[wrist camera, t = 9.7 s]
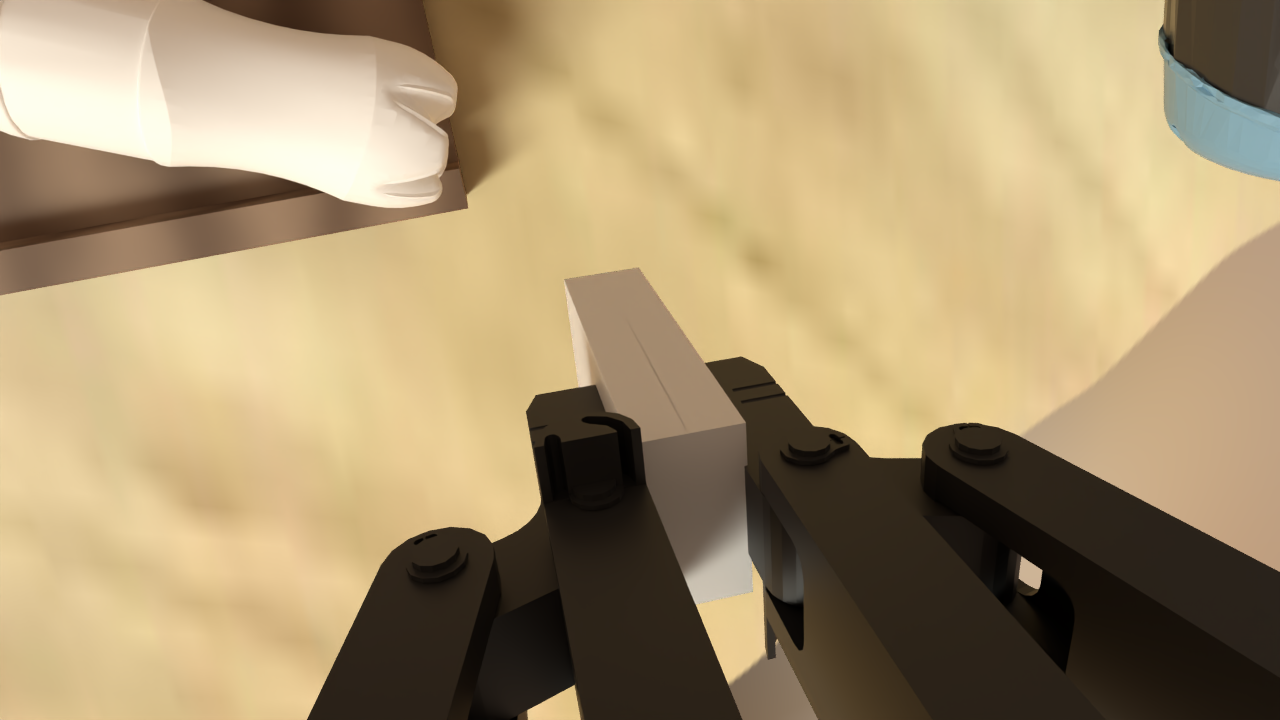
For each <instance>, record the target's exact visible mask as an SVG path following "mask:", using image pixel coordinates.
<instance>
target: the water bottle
mask: <svg viewBox="0 0 1280 720" xmlns="http://www.w3.org/2000/svg"><path fill="white" fill-rule="evenodd" d="M457 91H458V87H457V83H456V81H455V79H454V77H453V76H452V75H451V74H450V73H449V72H448V71H446V70H445V69H444V68H443V67H442V66H441V65H440V64H438V63H437V62H436V61H435V60H433V59H432V58H430V57H428V56H427V55H425V54H424V53H422V52H420V51H418V50H416V49H413V48H411V47H409V46H406V45H403V44H400V43H396V42H392V41H388V40H384V39H380V38H376V37H372V36H358V35H337V34H324V33H316V32H309V31H302V30H296V29H291V28H287V27H282V26H277V25H273V24H269V23H265V22H262V21H258V20H254V19H251V18H247V17H244V16H241V15H239V14H236V13H233V12H230V11H227V10H224V9H222V8H219V7H217V6H214V5H212V4H210V3H208V2H206V1H203V0H0V131H2V132H5V133H7V134H10V135H13V136H17V137H21V138H25V139H29V140H40V139H44V140H49V141H54V142H59V143H64V144H70V145H75V146H80V147H85V148H90V149H95V150H101V151H106V152H111V153H116V154H121V155H126V156H132V157H137V158H142V159H147V160H152V161H155V162H156V163H157V164H159V165H162V166H167V167H184V166H196V167H219V168H230V169H239V170H245V171H251V172H258V173H263V174H267V175H271V176H276V177H280V178H284V179H287V180H291V181H294V182H297V183H301V184H304V185H307V186H309V187H312V188H315V189H317V190H320V191H323V192H325V193H328V194H330V195H332V196H334V197H337V198H339V199H341V200H344V201H349V202H354V203H359V204H365V205H370V206H377V207H384V208H405V207H414V206H420V205H424V204H428V203H432V202H434V201H436V200H437V199H438V198H439V197H440V195H441V193H442V183H441V181H440V179H439V177H440V176H441V175H442V174H443V172H444V170H445V168H446V165H447V159H448V147H449V139H448V135H447V133H446V132H445V131H443V130H442V129H441V128H439V127H438V126H437V125H436V124H437V123H439V122H440V121H442V120H444V119H446V118H448V117H450V116H451V115H452V114H453V113H454V111H455V108H456V101H457Z"/></svg>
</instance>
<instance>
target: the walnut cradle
mask: <svg viewBox="0 0 1280 720" xmlns="http://www.w3.org/2000/svg"><path fill="white" fill-rule="evenodd" d="M203 1H206V2H208V3H210V4H212V5H214V6H217V7H219V8H222V9H224V10H227V11H230V12H233V13H236V14H239V15H241V16H244V17H247V18H251V19H254V20H258V21H262V22H265V23H269V24H273V25H277V26H282V27H287V28H291V29H296V30H302V31H309V32H316V33H324V34H337V35H358V36H372V37H376V38H380V39H384V40H388V41H392V42H396V43H400V44H403V45H406V46H409V47H411V48H413V49H416V50H418V51H420V52H422V53H424V54H425V55H427V56H428V57H430V58H432V59H433V60H435V61H436V59H435V55H434V51H433V46H432V42H431V38H430V33H429V29H428V24H427V20H426V16H425V11H424V7H423V2H422V0H203ZM436 125H437V126H438V127H439V128H441V129H442V130H443V131H445V132H446V133H447V135H448V139H449V147H448V159H447V165H446V168H445V170H444V172H443V174H442V175H441V176H440V177H439V179H440V181H441V183H442V193H441V195H440V197H439V198H438V199H437V200H436V201H434V202H432V203H428V204H424V205H420V206H414V207H405V208H384V207H377V206H370V205H365V204H359V203H354V202H349V201H344V200H341V199H339V198H337V197H334V196H332V195H330V194H328V193H325V192H323V191H320V190H317V189H315V188H312V187H309V186H307V185H304V184H301V183H297V182H294V181H291V180H287V179H284V178H280V177H276V176H271V175H267V174H263V173H258V172H251V171H245V170H239V169H230V168H219V167H196V166H184V167H167V166H162V165H159V164H157V163H156V162H155V161H152V160H147V159H142V158H137V157H132V156H126V155H121V154H116V153H111V152H106V151H101V150H95V149H90V148H85V147H80V146H75V145H70V144H64V143H59V142H54V141H49V140H44V139H40V140H29V139H25V138H21V137H17V136H13V135H10V134H7V133H5V132H2V131H0V295H4V294H10V293H15V292H20V291H26V290H31V289H36V288H42V287H47V286H53V285H58V284H63V283H69V282H74V281H79V280H85V279H90V278H96V277H101V276H106V275H112V274H117V273H122V272H128V271H133V270H139V269H144V268H149V267H155V266H160V265H165V264H171V263H176V262H182V261H187V260H192V259H198V258H203V257H209V256H214V255H219V254H225V253H230V252H235V251H241V250H246V249H252V248H257V247H262V246H268V245H273V244H278V243H284V242H289V241H295V240H300V239H305V238H311V237H316V236H321V235H327V234H332V233H338V232H343V231H348V230H354V229H359V228H364V227H370V226H375V225H381V224H386V223H391V222H397V221H402V220H408V219H413V218H418V217H424V216H429V215H434V214H440V213H445V212H451V211H456V210H461V209H467V208H468V203H467V195H466V191H465V186H464V182H463V178H462V173H461V169H460V164H459V160H458V156H457V151H456V147H455V143H454V138H453V134H452V129H451V125H450V121H449V117H448V118H446V119H444V120H442V121H440V122H439V123H437V124H436Z"/></svg>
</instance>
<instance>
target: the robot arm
mask: <svg viewBox="0 0 1280 720" xmlns="http://www.w3.org/2000/svg"><path fill="white" fill-rule="evenodd" d="M1158 45H1159V49H1160V53H1161V55H1162V57H1163V59H1164V112H1165V116H1166V120H1167V122H1168V124H1169V127H1170V129H1171V130H1172V131H1173V132H1174V133H1175V134H1176V136H1177V137H1178V138H1180V139H1181V140H1182V141H1183V142H1184V143H1185V145H1186V146H1187V147H1188V148H1189V149H1190V150H1192V151H1193V152H1195V153H1196V154H1198V155H1200V156H1201V157H1203V158H1205V159H1207V160H1209V161H1212V162H1214V163H1216V164H1218V165H1221V166H1224V167H1226V168H1229V169H1232V170H1235V171H1238V172H1242V173H1245V174H1249V175H1253V176H1257V177H1261V178H1266V179H1271V180H1276V181H1280V0H1165V8H1164V23H1163V25H1162V27H1161V28H1160V30H1159V36H1158ZM564 284H565V291H566V298H567V306H568V313H569V320H570V327H571V335H572V342H573V349H574V356H575V364H576V371H577V378H578V385H579V388H573V389H568V390H562V391H556V392H551V393H545V394H539V395H536V396H535V398H534V399H533V401H532V403H531V404H530V406H529V408H528V409H527V411H526V414H527V420H528V426H529V432H530V438H531V443H532V449H533V455H534V461H535V467H536V473H537V478H538V484H539V490H540V496H541V505H540V507H539V509H538V511H537V513H536V515H535V516H534V517H533V518H532V519H531V520H530V522H529V523H527V524H526V525H525V526H523V527H522V528H521V529H519V530H518V531H516V532H514V533H513V534H511V535H509V536H507V537H505V538H503V539H500V540H498V541H496V542H493V543H491V542H490V540H489V539H488V538H487V537H486V535H485V534H482V533H480V532H477V531H475V530H473V529H470V528H457V527H448V528H443V529H437V530H431V531H428V532H425V533H423V534H420V535H418V536H415V537H413V538H410V539H408V540H407V541H405V542H404V543H403V544H401V545H400V546H398V547H397V548H395V549H394V550H393V551H391V553H390V554H389V555H388V557H387V558H386V559H385V561H384V562H383V563H382V565H381V566H380V568H379V570H378V573H377V575H376V577H375V579H374V581H373V583H372V585H371V587H370V589H369V591H368V593H367V595H366V598H365V600H364V602H363V604H362V606H361V608H360V610H359V612H358V614H357V616H356V618H355V621H354V623H353V625H352V627H351V629H350V631H349V633H348V635H347V637H346V639H345V641H344V644H343V646H342V648H341V650H340V652H339V654H338V656H337V658H336V660H335V662H334V664H333V667H332V669H331V671H330V673H329V675H328V677H327V679H326V681H325V683H324V685H323V687H322V689H321V692H320V694H319V696H318V698H317V700H316V702H315V704H314V706H313V708H312V710H311V712H310V715H309V717H308V719H307V720H528V717H527V710H528V709H530V708H532V707H534V706H536V705H538V704H540V703H542V702H543V701H545V700H547V699H549V698H551V697H553V696H555V695H556V694H558V693H560V692H562V691H564V690H566V689H568V688H570V687H571V686H573V685H575V690H576V695H577V701H578V706H579V712H580V717H581V720H742V718H741V716H740V713H739V710H738V708H737V705H736V703H735V700H734V698H733V696H732V693H731V691H730V688H729V686H728V683H727V681H726V678H725V676H724V673H723V671H722V669H721V666H720V664H719V661H718V659H717V656H716V654H715V651H714V649H713V646H712V644H711V641H710V639H709V637H708V634H707V632H706V629H705V627H704V624H703V622H702V619H701V617H700V614H699V612H698V610H697V607H696V604H700V603H705V602H709V601H714V600H718V599H723V598H727V597H732V596H736V595H741V594H745V593H750V592H753V581H752V562H753V564H754V565H755V567H756V569H757V571H758V573H759V575H760V577H761V579H762V580H763V597H764V626H765V648H766V653H767V658H768V659H773V658H775V657H776V654H775V642H776V640H777V639H778V641H779V643H780V645H781V646H782V649H783V650H784V653H785V655H786V656H787V659H788V661H789V662H790V665H791V666H792V668H793V670H794V672H795V674H796V676H797V678H798V680H799V682H800V684H801V686H802V688H803V690H804V692H805V694H806V696H807V698H808V700H809V702H810V704H811V706H812V708H813V710H814V712H815V714H816V716H817V718H818V720H1280V572H1278V571H1277V570H1275V569H1273V568H1271V567H1269V566H1267V565H1265V564H1263V563H1261V562H1259V561H1257V560H1256V559H1254V558H1252V557H1250V556H1248V555H1246V554H1244V553H1242V552H1240V551H1238V550H1236V549H1234V548H1233V547H1231V546H1229V545H1227V544H1225V543H1223V542H1221V541H1219V540H1217V539H1215V538H1213V537H1212V536H1210V535H1208V534H1206V533H1204V532H1202V531H1200V530H1198V529H1196V528H1194V527H1192V526H1190V525H1188V524H1187V523H1185V522H1183V521H1181V520H1179V519H1177V518H1175V517H1173V516H1171V515H1169V514H1167V513H1165V512H1164V511H1161V510H1160V509H1158V508H1156V507H1154V506H1152V505H1150V504H1148V503H1146V502H1144V501H1142V500H1141V499H1139V498H1137V497H1135V496H1133V495H1131V494H1129V493H1127V492H1125V491H1123V490H1121V489H1119V488H1117V487H1115V486H1114V485H1112V484H1110V483H1108V482H1106V481H1104V480H1102V479H1100V478H1098V477H1096V476H1095V475H1093V474H1091V473H1089V472H1087V471H1085V470H1083V469H1081V468H1079V467H1077V466H1075V465H1073V464H1071V463H1070V462H1068V461H1066V460H1064V459H1062V458H1060V457H1058V456H1056V455H1054V454H1052V453H1050V452H1049V451H1047V450H1045V449H1043V448H1041V447H1039V446H1037V445H1035V444H1033V443H1031V442H1029V441H1027V440H1026V439H1024V438H1022V437H1020V436H1018V435H1016V434H1013V433H1011V432H1008V431H1006V430H1003V429H1000V428H998V427H993V426H987V425H982V424H979V423H968V424H966V423H960V424H954V425H949V426H945V427H940V428H938V429H936V430H934V431H933V432H931V433H929V434H928V435H927V436H926V438H925V440H924V442H923V444H922V458H871V457H869V456H868V455H867V454H866V452H865V451H864V450H863V449H862V448H861V447H860V446H859V445H858V444H857V442H855V441H854V440H853V439H851V438H850V437H848V436H847V435H846V434H844V433H841V432H838V431H835V430H832V429H830V428H824V427H815V426H813V425H812V424H811V423H810V421H809V420H808V419H807V418H806V417H805V416H804V414H803V413H802V412H801V411H800V410H799V408H798V407H797V406H796V405H795V404H794V402H793V401H792V400H791V399H790V398H789V397H788V395H787V396H786V395H785V392H784V391H783V389H782V388H781V387H780V386H779V385H778V384H776V381H775V380H774V379H773V378H772V376H771V375H770V374H769V373H768V372H767V370H766V369H765V368H764V367H763V366H761V365H758V364H756V363H754V362H752V361H750V360H748V359H746V358H743V357H736V358H731V359H725V360H719V361H714V362H708V363H704V361H703V360H702V358H701V357H700V356H699V354H698V353H697V351H696V350H695V348H694V347H693V345H692V344H691V343H690V341H689V340H688V338H687V337H686V335H685V334H684V332H683V331H682V330H681V328H680V327H679V325H678V324H677V322H676V321H675V319H674V318H673V316H672V315H671V314H670V312H669V311H668V309H667V308H666V306H665V305H664V303H663V302H662V301H661V299H660V298H659V296H658V295H657V293H656V292H655V290H654V289H653V288H652V286H651V285H650V283H649V282H648V280H647V279H646V277H645V276H644V274H643V273H642V272H641V270H640V269H639V268H633V269H627V270H621V271H614V272H608V273H601V274H595V275H588V276H582V277H576V278H569V279H564ZM1021 556H1022V557H1024V558H1025V559H1027V560H1028V561H1030V562H1031V563H1033V564H1034V565H1036V566H1037V567H1038V568H1040V569H1042V570H1043V571H1042V579H1041V585H1040V588H1039V589H1035V588H1033V587H1031V586H1028V585H1027V584H1025V583H1024V582H1023V581H1021V580H1020V579H1018V578H1019V570H1020V562H1021Z"/></svg>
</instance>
